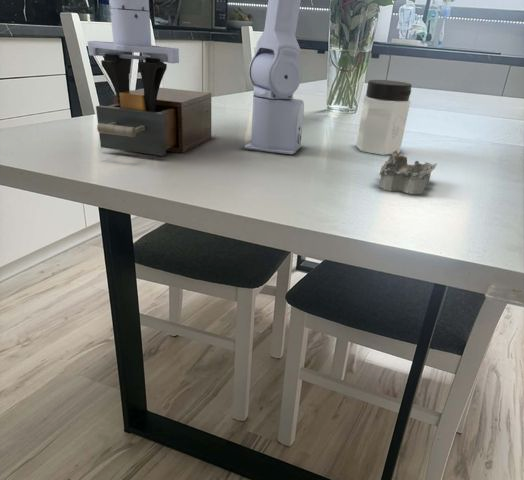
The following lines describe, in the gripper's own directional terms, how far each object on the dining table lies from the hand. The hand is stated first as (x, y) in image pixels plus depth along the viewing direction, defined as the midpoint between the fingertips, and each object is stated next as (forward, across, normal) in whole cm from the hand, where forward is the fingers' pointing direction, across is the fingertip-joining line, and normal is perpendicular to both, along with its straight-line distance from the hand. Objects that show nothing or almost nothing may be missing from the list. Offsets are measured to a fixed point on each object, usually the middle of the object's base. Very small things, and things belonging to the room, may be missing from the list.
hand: (137, 110), depth 80 cm
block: (+1, 0, 0) cm, 1 cm away
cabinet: (+7, 0, +11) cm, 13 cm away
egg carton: (+7, +45, +2) cm, 46 cm away
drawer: (+6, 0, +1) cm, 6 cm away
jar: (+7, +39, +26) cm, 47 cm away
